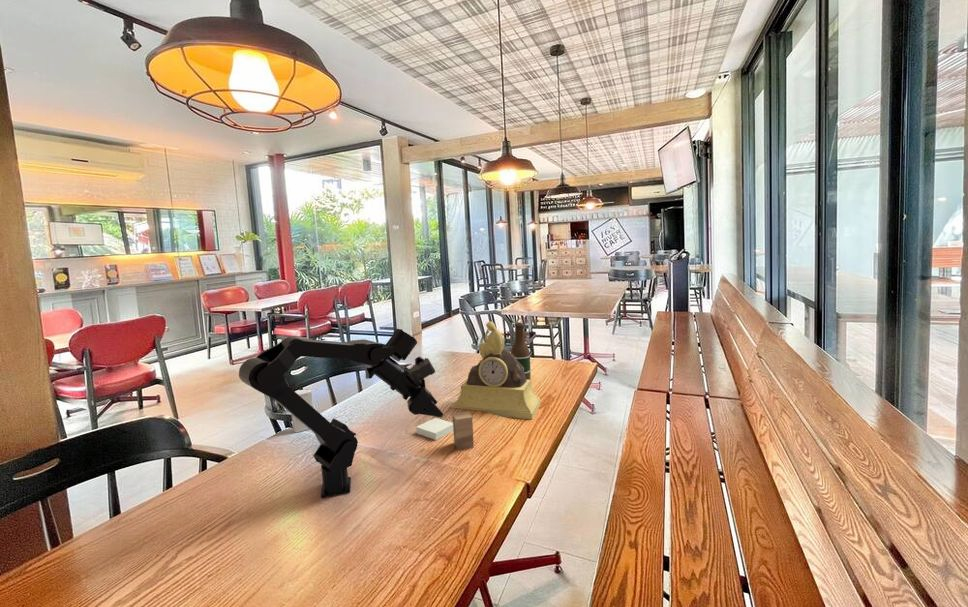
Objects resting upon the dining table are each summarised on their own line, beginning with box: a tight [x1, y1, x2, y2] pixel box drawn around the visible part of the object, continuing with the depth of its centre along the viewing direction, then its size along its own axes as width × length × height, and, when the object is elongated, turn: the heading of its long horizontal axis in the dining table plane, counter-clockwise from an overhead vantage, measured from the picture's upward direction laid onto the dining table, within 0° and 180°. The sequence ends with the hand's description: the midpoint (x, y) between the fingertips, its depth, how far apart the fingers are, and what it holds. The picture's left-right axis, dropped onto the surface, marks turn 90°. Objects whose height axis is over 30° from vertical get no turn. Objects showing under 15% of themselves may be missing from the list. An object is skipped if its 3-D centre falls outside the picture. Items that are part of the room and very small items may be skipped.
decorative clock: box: [450, 321, 541, 420], centre depth 144 cm, size 28×13×30 cm, turn 71°
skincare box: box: [290, 388, 314, 433], centre depth 135 cm, size 6×4×12 cm
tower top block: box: [415, 417, 453, 441], centre depth 126 cm, size 8×8×2 cm
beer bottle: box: [510, 322, 531, 380], centre depth 171 cm, size 8×8×24 cm
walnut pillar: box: [452, 410, 475, 451], centre depth 117 cm, size 4×4×10 cm
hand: (439, 409), depth 114 cm, fingers open, 9 cm apart
